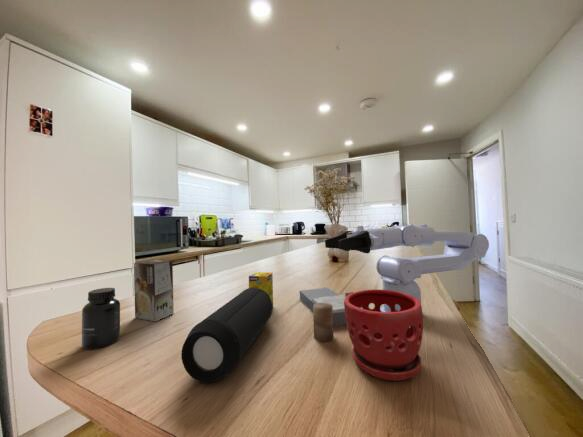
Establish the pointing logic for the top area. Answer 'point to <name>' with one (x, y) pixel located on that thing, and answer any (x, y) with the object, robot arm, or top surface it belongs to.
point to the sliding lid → (333, 302)
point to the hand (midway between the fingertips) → (332, 244)
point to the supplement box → (262, 282)
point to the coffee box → (153, 289)
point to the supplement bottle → (100, 319)
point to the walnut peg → (323, 322)
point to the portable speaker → (225, 335)
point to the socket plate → (316, 293)
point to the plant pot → (385, 333)
